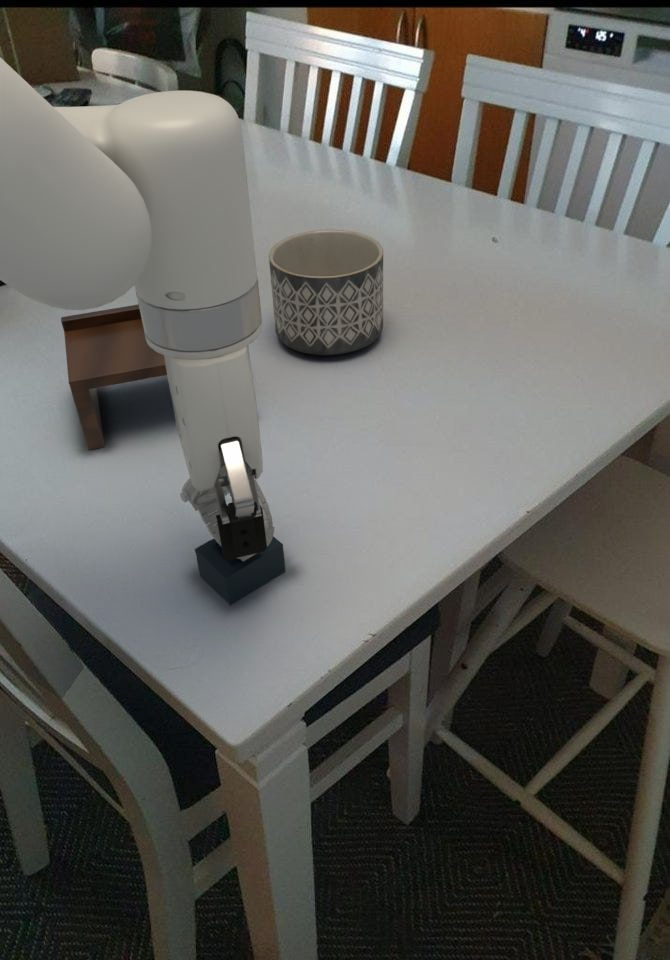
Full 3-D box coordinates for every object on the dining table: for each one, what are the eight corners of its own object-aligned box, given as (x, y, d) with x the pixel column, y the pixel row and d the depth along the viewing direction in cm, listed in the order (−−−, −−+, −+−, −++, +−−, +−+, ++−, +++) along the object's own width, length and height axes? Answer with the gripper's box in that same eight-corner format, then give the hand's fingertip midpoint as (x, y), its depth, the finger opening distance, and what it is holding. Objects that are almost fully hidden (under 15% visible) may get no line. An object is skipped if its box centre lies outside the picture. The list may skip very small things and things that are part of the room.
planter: (375, 366, 90) (375, 279, 84) (265, 360, 92) (256, 274, 86) (388, 312, 100) (389, 231, 93) (288, 307, 102) (282, 227, 95)
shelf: (88, 450, 80) (65, 370, 74) (81, 392, 88) (60, 316, 82) (246, 418, 83) (236, 340, 77) (226, 366, 92) (215, 291, 86)
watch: (241, 532, 70) (226, 429, 63) (299, 583, 65) (289, 478, 58) (186, 564, 67) (164, 460, 60) (242, 619, 62) (225, 513, 56)
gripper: (127, 263, 57) (168, 458, 68) (159, 392, 44) (204, 607, 55) (232, 247, 58) (256, 440, 69) (293, 366, 45) (310, 581, 56)
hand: (233, 513), depth 62 cm, fingers closed on watch, 8 cm apart
